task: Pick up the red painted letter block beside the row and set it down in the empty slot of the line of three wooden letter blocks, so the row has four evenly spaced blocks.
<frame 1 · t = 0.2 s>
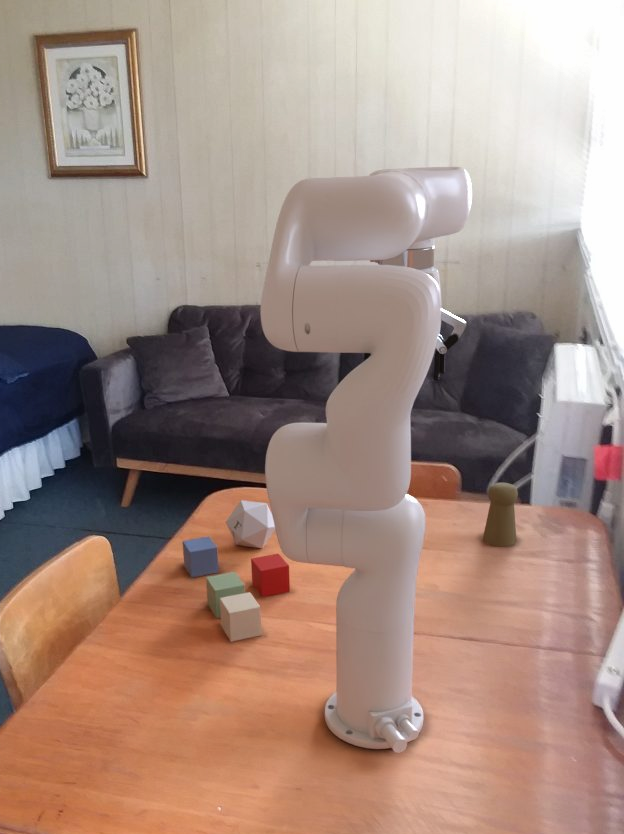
hand: (403, 377, 125), 37 cm above the table, tool pointing down, fingers open, 9 cm apart
cream block: (241, 630, 130), on the table
cork: (499, 540, 157), on the table
blue block: (201, 569, 150), on the table
die: (252, 544, 160), on the table
sage block: (226, 608, 137), on the table
red block: (270, 588, 143), on the table
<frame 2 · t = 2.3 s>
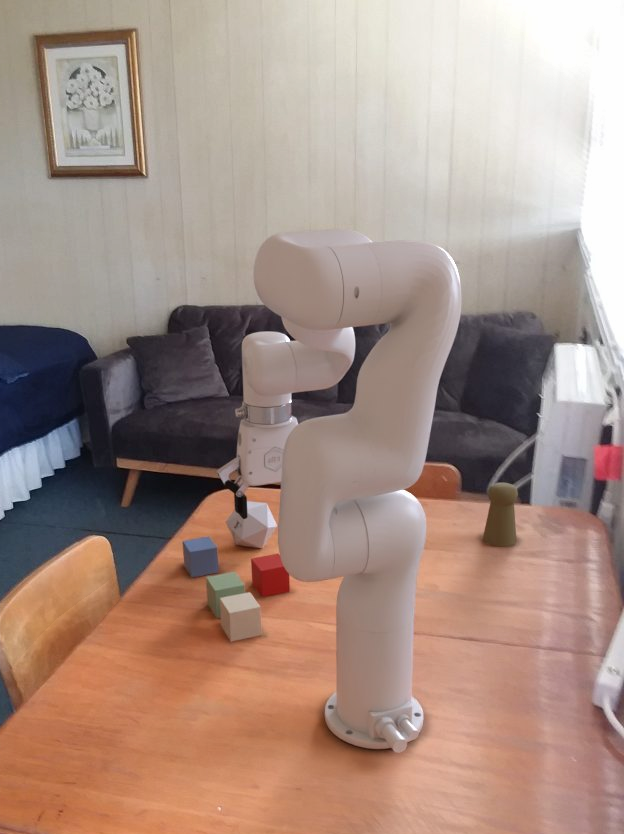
hand: (270, 511, 138), 14 cm above the table, tool pointing down, fingers open, 9 cm apart
nothing on the table moved.
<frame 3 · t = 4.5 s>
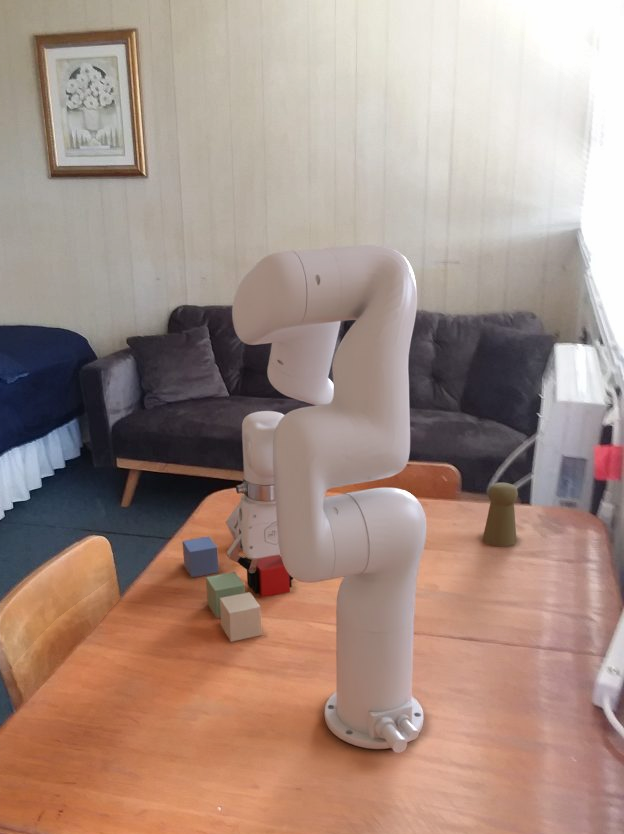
hand: (270, 586, 143), 0 cm above the table, tool pointing down, fingers closed on red block, 5 cm apart
red block: (270, 588, 143), on the table, touching gripper
everything else where it was.
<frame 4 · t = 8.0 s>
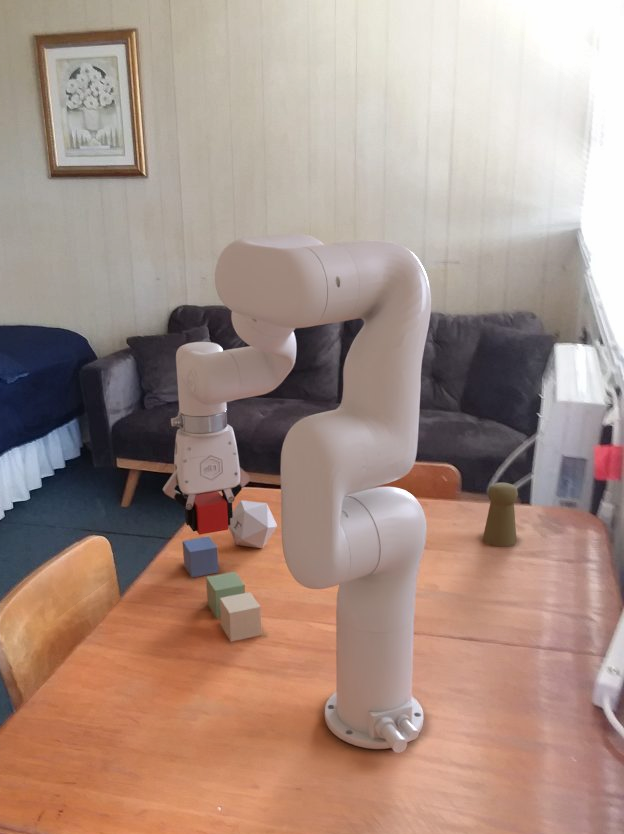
hand: (209, 524, 140), 12 cm above the table, tool pointing down, fingers closed on red block, 5 cm apart
red block: (209, 526, 140), point 11 cm above the table, touching gripper
everything else where it was.
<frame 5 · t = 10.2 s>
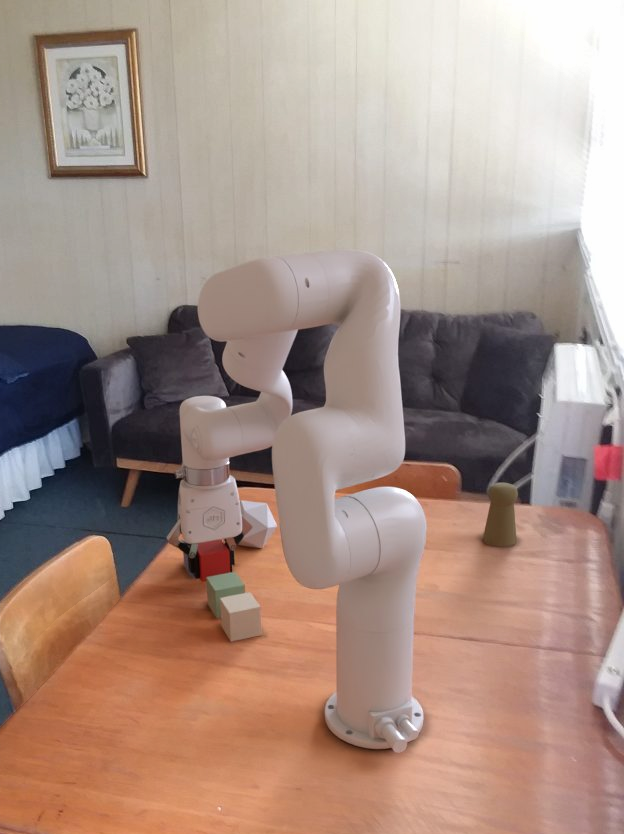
hand: (212, 571, 143), 3 cm above the table, tool pointing down, fingers closed on red block, 5 cm apart
red block: (212, 573, 143), point 3 cm above the table, touching gripper
everything else where it was.
when the fingers open (0 cm above the table, at t = 11.5 s): red block stays where it is, on the table.
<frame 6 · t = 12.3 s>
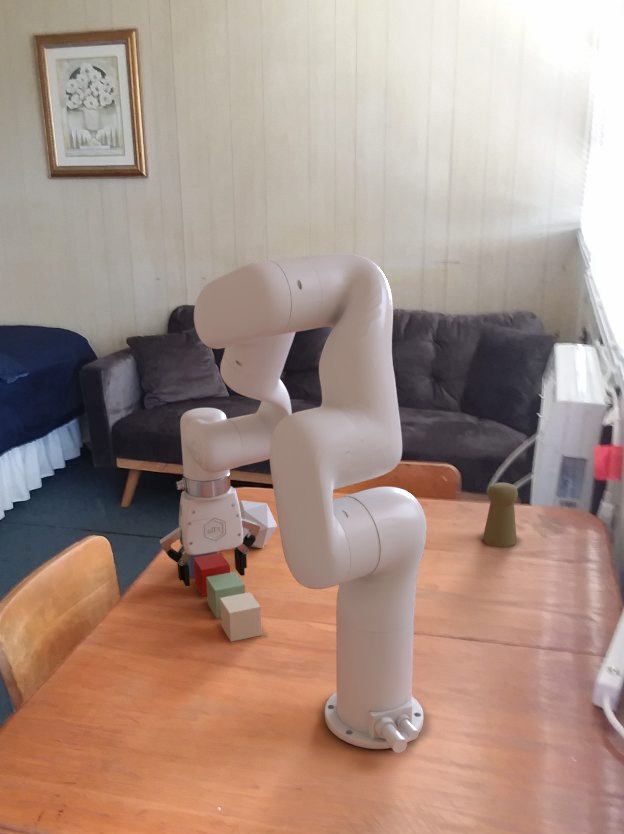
hand: (213, 577, 143), 2 cm above the table, tool pointing down, fingers open, 9 cm apart
red block: (212, 587, 144), on the table
everything else where it was.
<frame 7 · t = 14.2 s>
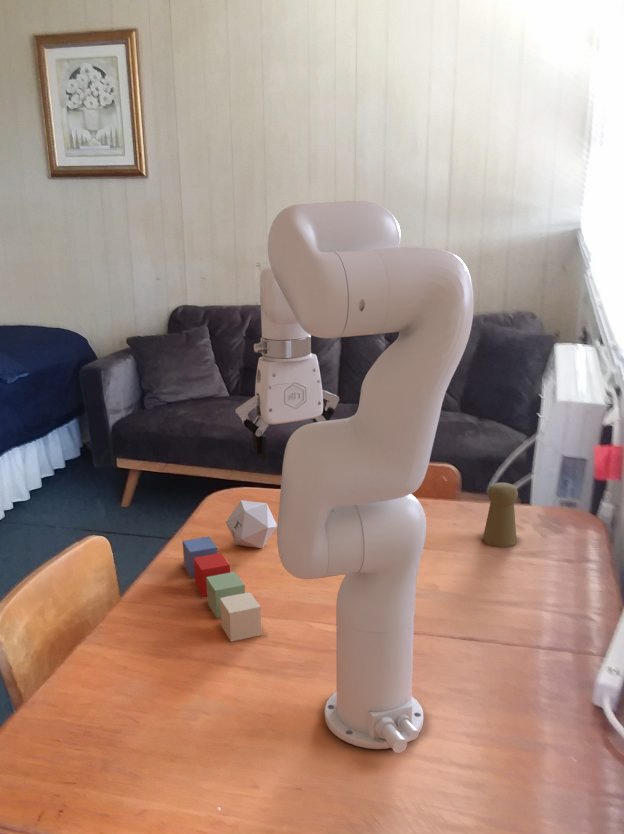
hand: (289, 453, 135), 24 cm above the table, tool pointing down, fingers open, 9 cm apart
nothing on the table moved.
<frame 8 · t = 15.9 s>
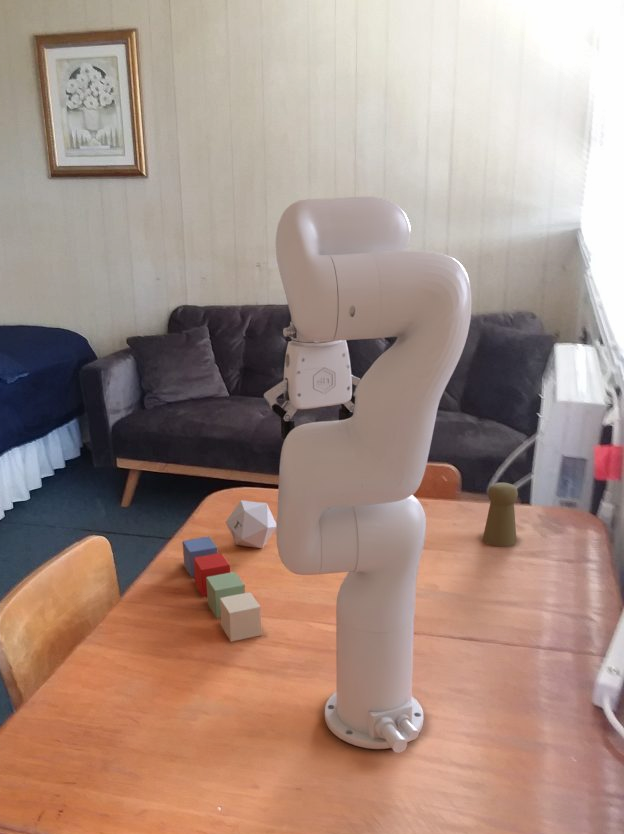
hand: (317, 438, 134), 26 cm above the table, tool pointing down, fingers open, 9 cm apart
nothing on the table moved.
at the end: red block 0.2 cm from the target spot, on the table; red block tilted 0°; blue block moved 0.0 cm from its start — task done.
